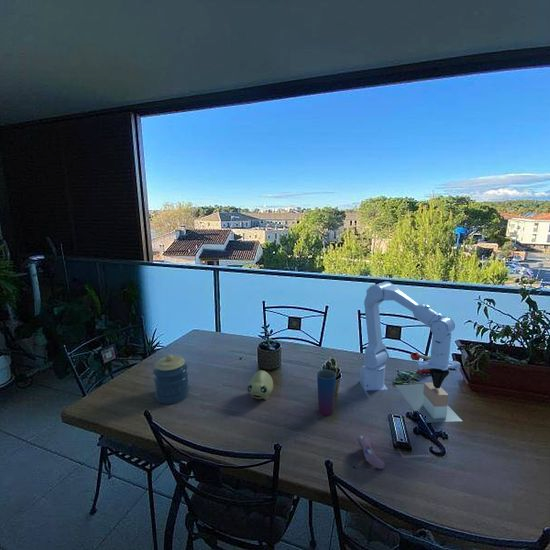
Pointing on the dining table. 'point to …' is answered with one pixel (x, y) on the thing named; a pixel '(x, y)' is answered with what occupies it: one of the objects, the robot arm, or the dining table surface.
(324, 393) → the cup
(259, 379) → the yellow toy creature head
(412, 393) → the baseplate
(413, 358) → the toy fire truck
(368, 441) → the pink curved figurine
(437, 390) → the tan rectangular block
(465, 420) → the dining table surface
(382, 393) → the dining table surface
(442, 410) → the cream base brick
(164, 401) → the canister
